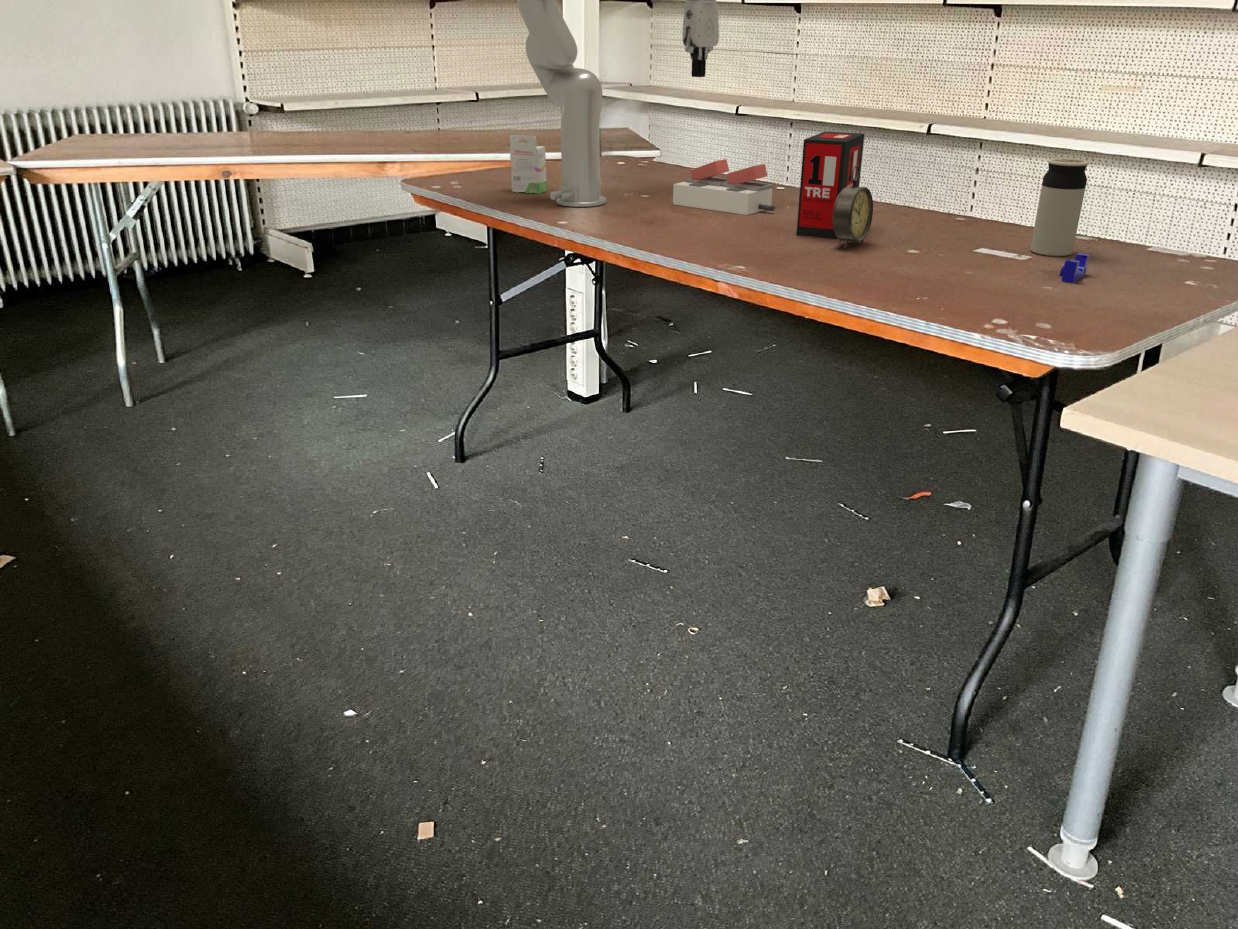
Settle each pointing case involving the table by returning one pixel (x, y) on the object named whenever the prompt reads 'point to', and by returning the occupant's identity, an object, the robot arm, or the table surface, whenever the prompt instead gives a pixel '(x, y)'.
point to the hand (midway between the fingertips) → (698, 76)
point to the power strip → (724, 195)
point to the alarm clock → (853, 213)
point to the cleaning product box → (826, 179)
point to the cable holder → (1074, 268)
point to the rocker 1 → (710, 170)
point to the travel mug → (1059, 207)
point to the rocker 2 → (747, 174)
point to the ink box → (527, 165)
